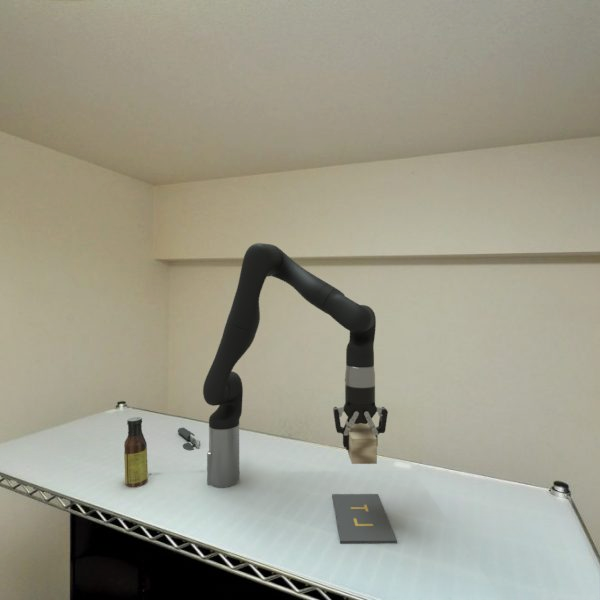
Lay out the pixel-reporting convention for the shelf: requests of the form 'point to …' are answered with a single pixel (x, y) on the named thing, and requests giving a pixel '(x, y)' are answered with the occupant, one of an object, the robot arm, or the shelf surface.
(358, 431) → the maple block
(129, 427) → the sauce bottle
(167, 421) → the shelf surface
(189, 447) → the can opener
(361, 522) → the picture tile
